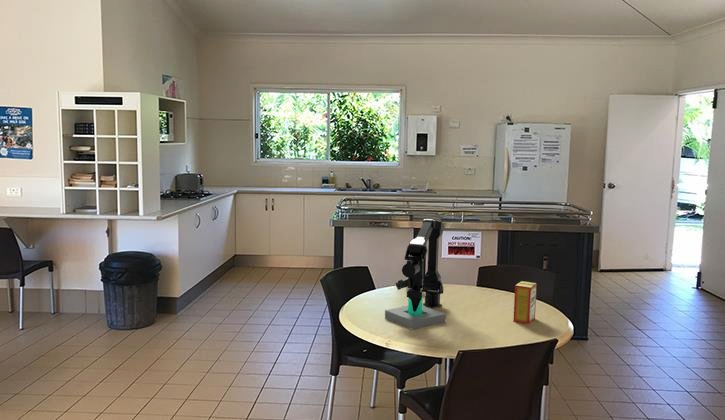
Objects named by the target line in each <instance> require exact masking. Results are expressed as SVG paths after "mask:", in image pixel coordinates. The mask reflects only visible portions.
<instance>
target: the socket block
mask: <svg viewBox="0 0 725 420" xmlns="http://www.w3.org/2000/svg"><path fill="white" fill-rule="evenodd" d="M446 315H447V314H446V313H444V312H441V311H438V310H436V309H433V308H431V307H428V306H425V305H422V314H420V315H415V316H414V315H411V314H408V305H404V306H401V307H396V308H395V307H394V308H389V309H384V319H386V320H389V321H390V322H391V321H392V322H393V323H395V324H398V325H401V326H403V327H406V328H408V329H411V330H416V329H420V328H425V327H430V326H434V325H439V324H443V323H446V318H447V317H446Z"/></svg>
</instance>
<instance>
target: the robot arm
mask: <svg viewBox="0 0 725 420" xmlns="http://www.w3.org/2000/svg"><path fill="white" fill-rule="evenodd" d="M444 231H445V223H444V222H443V221H442V220H437V219H436V220H435V219H432V218H425V219H423V220H422V224H421V227H420V229H419V231H418V234H417V236H416V237H415V238H413V239H412V240H410V242H409V244H408V245H407V247H406V251H405V255H404V260H405V261H406V263H405V264H404V265H403V266H402V268H401V272H402V275H404V277H405V278H400V279H397V280H395V287H396V289H397V290H401V289H404V288H405V289H406V287H408V288H412V289H409V290H406V298H410V299H411V302H412V307H413V311H416V310H417V308H418V305H419V303H420V301H421V299H422V292H423V293H425V296H424V303H423V302H422V306H425V307H428V308H431V309H433V308H438V307H442V306H443V304H441V303H440V302H441V295H442V294H444V285H443V282H442V276H441V275H440V274H441V273H439V271H438V270H439V269H438V268H439V266H438V265H439V250H440V249H439V246H440V245H439V243H440V239H441V237H442V236H443V233H444ZM427 243H428V246H427ZM427 247H428V248H427ZM426 257H427V270H426V272H425V274H424V261H425V259H426ZM406 277H407V278H406Z"/></svg>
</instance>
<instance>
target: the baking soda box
mask: <svg viewBox="0 0 725 420" xmlns="http://www.w3.org/2000/svg"><path fill="white" fill-rule="evenodd" d="M537 284H538V283H537V282H530V281H522V280H521V281H520V282H518V283H517V284H515V285H514V300H513V303H514V304H513V322H514V323H520V324H524V325H525V324H526V325H530V324H531V323H532V322H533V321H534V320H535V319H536V310H537V309H536V306H537V290H538V289H537Z"/></svg>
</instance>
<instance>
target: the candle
mask: <svg viewBox="0 0 725 420" xmlns="http://www.w3.org/2000/svg"><path fill="white" fill-rule="evenodd" d="M423 295H424V292H422V299H421V301H420V303H419V305H418V308H417V310H416V311H413V307H412V302H411V299H410V298H408V297H407V298H408V299H407V301H408V303H407V306H408V314H411V315H414V316H415V315H420V314H422V306H423V300H424V298H423V297H424V296H423Z"/></svg>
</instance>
